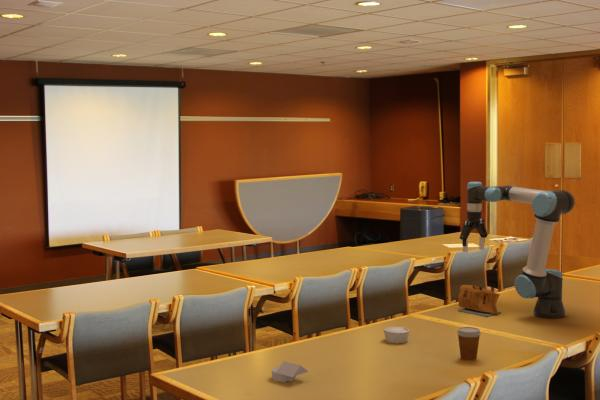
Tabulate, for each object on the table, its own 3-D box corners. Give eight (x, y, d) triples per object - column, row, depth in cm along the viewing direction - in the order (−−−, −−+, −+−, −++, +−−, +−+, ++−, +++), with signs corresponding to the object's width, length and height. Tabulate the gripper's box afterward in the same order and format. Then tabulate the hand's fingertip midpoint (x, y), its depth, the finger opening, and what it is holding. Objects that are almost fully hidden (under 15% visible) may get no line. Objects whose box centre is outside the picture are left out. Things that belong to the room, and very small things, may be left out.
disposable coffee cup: (453, 355, 319) (454, 326, 318) (476, 354, 319) (476, 326, 318) (460, 362, 309) (460, 332, 308) (483, 361, 310) (484, 332, 309)
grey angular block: (308, 380, 289) (283, 373, 298) (308, 362, 288) (283, 356, 297) (292, 386, 282) (267, 379, 291) (292, 368, 282) (266, 361, 291)
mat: (500, 313, 393) (500, 312, 393) (486, 316, 385) (486, 315, 385) (471, 307, 406) (471, 306, 406) (457, 311, 398) (457, 310, 398)
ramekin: (412, 343, 337) (412, 332, 337) (387, 345, 336) (387, 333, 335) (404, 337, 349) (405, 325, 348) (380, 338, 347) (380, 327, 346)
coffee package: (471, 284, 407) (505, 291, 390) (468, 307, 407) (502, 315, 390) (459, 283, 401) (493, 290, 384) (456, 307, 401) (490, 315, 384)
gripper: (483, 208, 419) (482, 247, 421) (453, 212, 404) (452, 252, 406) (494, 210, 413) (494, 249, 415) (464, 213, 398) (463, 254, 400)
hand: (473, 250), depth 411 cm, fingers open, 13 cm apart
